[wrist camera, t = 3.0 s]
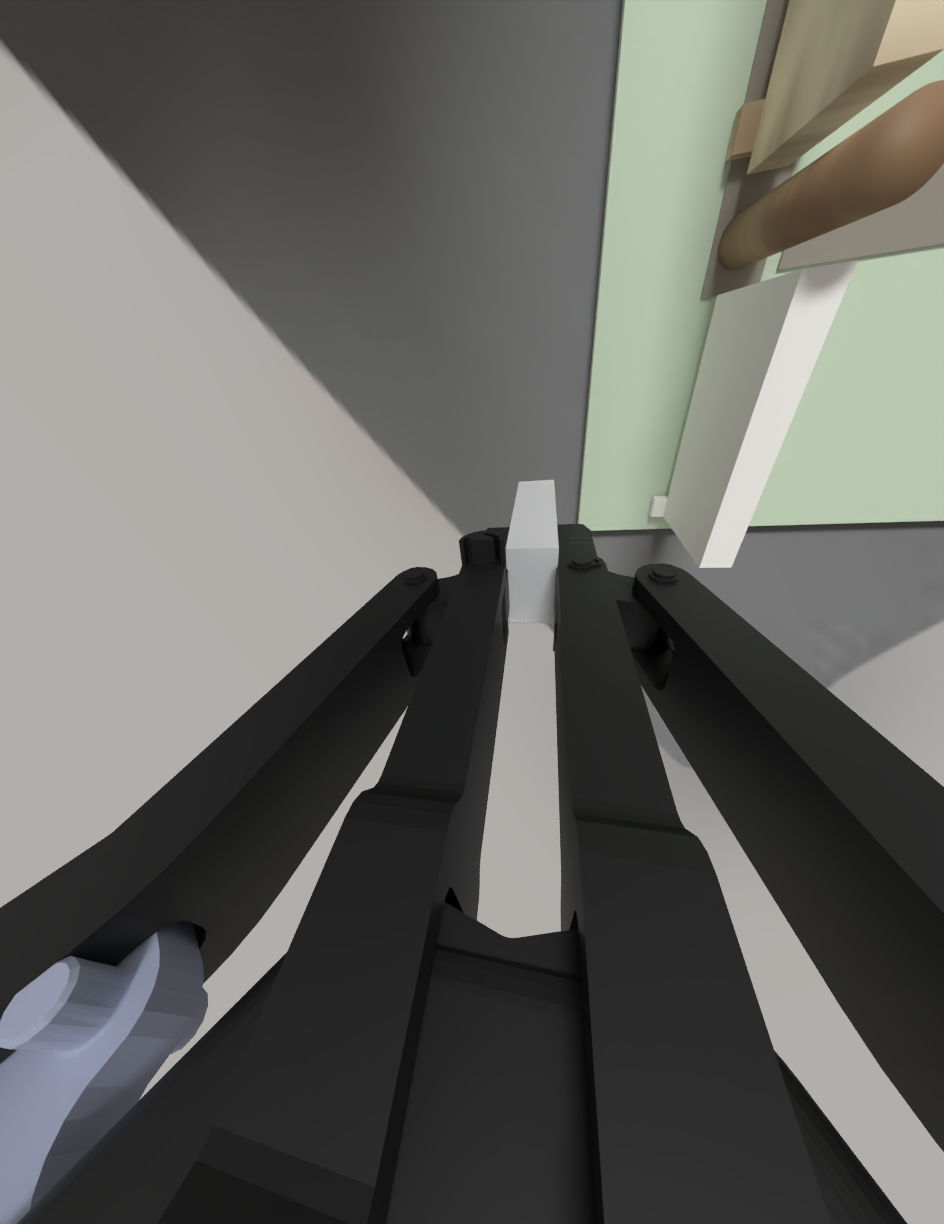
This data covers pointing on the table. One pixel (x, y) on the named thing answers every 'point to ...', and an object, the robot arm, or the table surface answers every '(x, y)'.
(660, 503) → the panel
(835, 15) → the fence fixed
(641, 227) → the card
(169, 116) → the table surface
